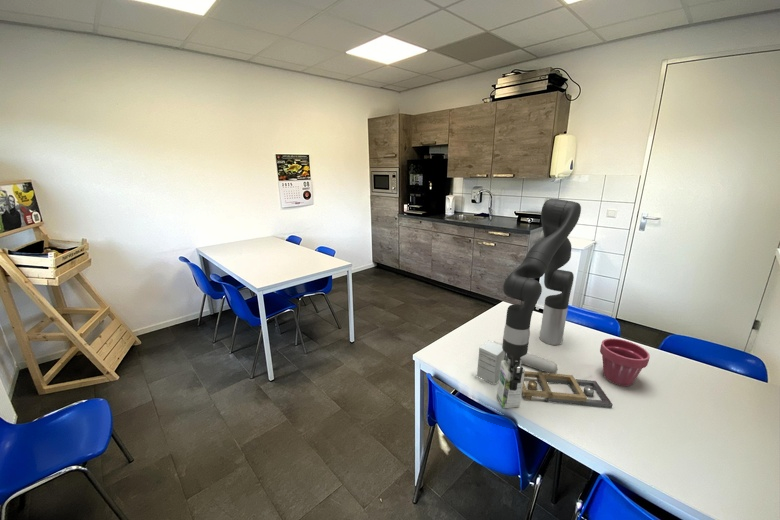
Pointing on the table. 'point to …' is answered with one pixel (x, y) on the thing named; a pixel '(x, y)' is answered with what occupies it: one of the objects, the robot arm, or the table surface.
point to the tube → (539, 363)
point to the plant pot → (622, 361)
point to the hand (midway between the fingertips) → (510, 382)
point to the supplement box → (490, 361)
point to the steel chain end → (588, 391)
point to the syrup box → (504, 393)
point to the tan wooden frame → (547, 392)
